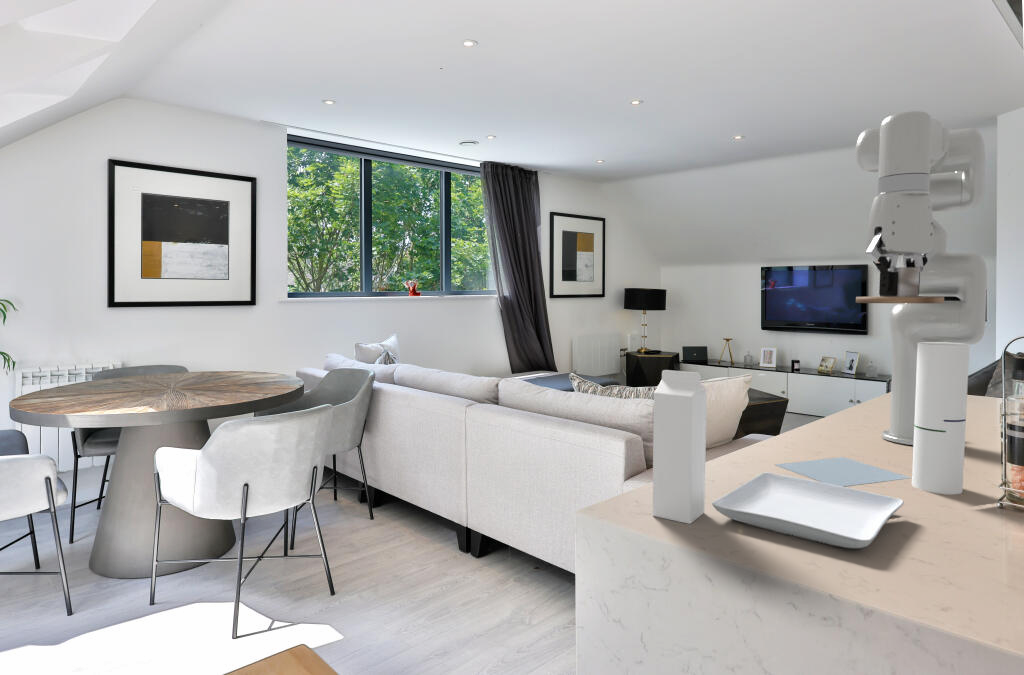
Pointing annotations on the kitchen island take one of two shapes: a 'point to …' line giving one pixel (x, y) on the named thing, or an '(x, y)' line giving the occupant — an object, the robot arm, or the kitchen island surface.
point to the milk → (679, 447)
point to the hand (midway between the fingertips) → (898, 294)
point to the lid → (904, 290)
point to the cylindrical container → (940, 417)
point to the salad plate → (809, 509)
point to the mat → (842, 471)
